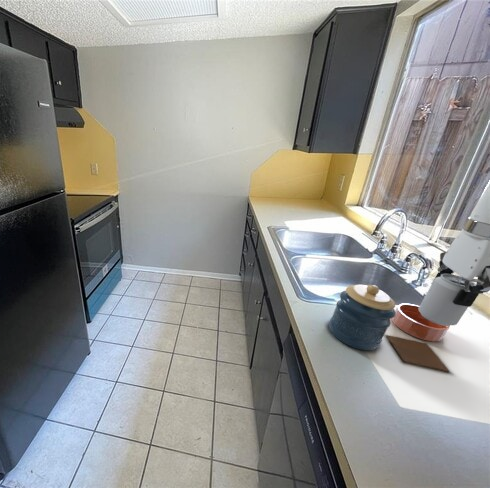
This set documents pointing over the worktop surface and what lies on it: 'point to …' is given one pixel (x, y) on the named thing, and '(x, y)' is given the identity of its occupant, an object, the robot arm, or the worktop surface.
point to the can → (443, 300)
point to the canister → (362, 316)
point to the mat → (416, 353)
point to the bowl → (418, 323)
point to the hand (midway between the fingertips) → (449, 294)
